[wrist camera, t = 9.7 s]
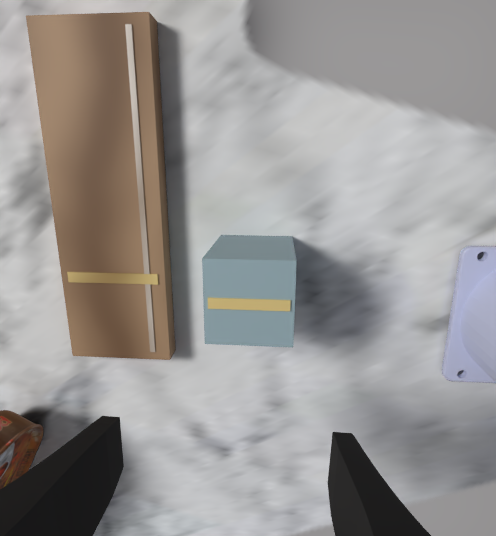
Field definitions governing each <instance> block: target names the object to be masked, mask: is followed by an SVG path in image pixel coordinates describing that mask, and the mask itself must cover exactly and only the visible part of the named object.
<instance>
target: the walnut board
mask: <svg viewBox="0 0 496 536" xmlns="http://www.w3.org/2000/svg"><path fill="white" fill-rule="evenodd" d="M26 20H27V27H28V34H29V41H30V49H31V56H32V63H33V70H34V78H35V85H36V92H37V99H38V107H39V114H40V121H41V128H42V136H43V143H44V150H45V157H46V165H47V172H48V179H49V187H50V194H51V201H52V208H53V216H54V223H55V230H56V237H57V245H58V252H59V259H60V266H61V274H62V281H63V288H64V295H65V303H66V310H67V317H68V324H69V332H70V339H71V346H72V354H73V356H91V357H116V358H140V359H164V360H170V359H171V357H172V355H173V354H174V352H175V334H174V316H173V298H172V281H171V263H170V245H169V227H168V210H167V192H166V174H165V156H164V138H163V121H162V103H161V85H160V67H159V50H158V32H157V21H156V20H155V19H154V17H153V16H152V15H151V14H150V13H149V12H132V13H99V14H66V15H34V16H26Z"/></svg>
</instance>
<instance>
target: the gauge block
mask: <svg viewBox="0 0 496 536" xmlns="http://www.w3.org/2000/svg"><path fill="white" fill-rule="evenodd" d="M296 264H297V260H296V255H295V249H294V243H293V238H292V236H244V235H221V236H220V237H219V239H218V240H217V241H216V242H215V244H214V245H213V246H212V247H211V248H210V250H209V251H208V252H207V253H206V255H205V256H204V257H203V258H202V265H203V297H204V330H205V344H222V345H247V346H272V347H293V340H294V315H295V290H296Z"/></svg>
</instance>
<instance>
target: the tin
mask: <svg viewBox="0 0 496 536" xmlns="http://www.w3.org/2000/svg"><path fill="white" fill-rule="evenodd" d="M42 437H43V427H42V426H41V425H40V424H35V423H33V422H31V421H29V420H27V419H26V418H24V417H22V416H20V415H18V414H16V413H14V412H11V411H7V410H3V411H0V489H2V488H3V487H5V486H7V485H8V484H10V483H11V482H13V481H14V480H16V479H17V478H19V477H20V476H22V475H23V474H25V473H26V472H28V470H29V468H30V466H31V464H32V461H33V459H34V456H35V454H36V452H37V450H38V447H39V445H40V443H41V440H42Z"/></svg>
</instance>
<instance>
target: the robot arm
mask: <svg viewBox="0 0 496 536" xmlns="http://www.w3.org/2000/svg"><path fill="white" fill-rule="evenodd" d="M480 252H484V256H483V257H482V258H481V259H477V256H478V254H479V253H480ZM461 370H464V371H463V373H462V374H459V375H458V372H459V371H461ZM442 374H443V376H444V377H445V378H446V379H447V380H449V381H462V382H485V383H496V246H467V247H465V248H463V249H462V251H461V253H460V256H459V262H458V269H457V275H456V282H455V288H454V295H453V301H452V307H451V314H450V320H449V327H448V333H447V339H446V346H445V352H444V359H443V365H442ZM123 467H124V466H123V454H122V442H121V429H120V417H109V416H102V417H100V418H99V419H98V420H96V421H95V422H94V423H92V424H91V425H90V426H88V427H87V428H86V429H84V430H83V431H82V432H81V433H79V434H78V435H77V436H75V437H74V438H73V439H72V440H70V441H69V442H68V443H66V444H65V445H64V446H62V447H61V448H60V449H58V450H57V451H56V452H54V453H53V454H52V455H50V456H49V457H48V458H46V459H45V460H43V461H42V462H40V463H39V464H38V465H36V466H35V467H33V468H32V469H30V470H29V471H28V472H26V473H25V474H23V475H22V476H20V477H19V478H17V479H16V480H14V481H13V482H11V483H10V484H8V485H7V486H5V487H3V488H2V489H0V536H93V534H94V532H95V530H96V528H97V526H98V524H99V522H100V520H101V518H102V516H103V514H104V512H105V510H106V508H107V507H108V505H109V502H110V500H111V498H112V496H113V494H114V491H115V488H116V486H117V483H118V481H119V478H120V475H121V472H122V470H123ZM328 489H329V499H330V508H331V517H332V522H333V527H334V532H335V536H431V535H430V534H429V533H428V532H427V531H426V530H425V529H424V528H423V527H422V525H420V523H419V522H418V521H417V520H416V519H415V518H414V516H413V515H412V514H411V513H410V512H409V511H408V509H407V508H406V507H405V506H404V505H403V503H402V502H401V501H400V500H399V499H398V497H397V496H396V495H395V493H394V492H393V491H392V490H391V488H390V487H389V486H388V484H387V483H386V482H385V480H384V479H383V478H382V476H381V475H380V474H379V472H378V471H377V469H376V468H375V467H374V465H373V464H372V462H371V461H370V459H369V458H368V457H367V455H366V454H365V452H364V451H363V449H362V447H361V446H360V444H359V443H358V441H357V440H356V438H355V437H354V435H353V434H352V433H339V432H333V435H332V446H331V456H330V466H329V476H328Z"/></svg>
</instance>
